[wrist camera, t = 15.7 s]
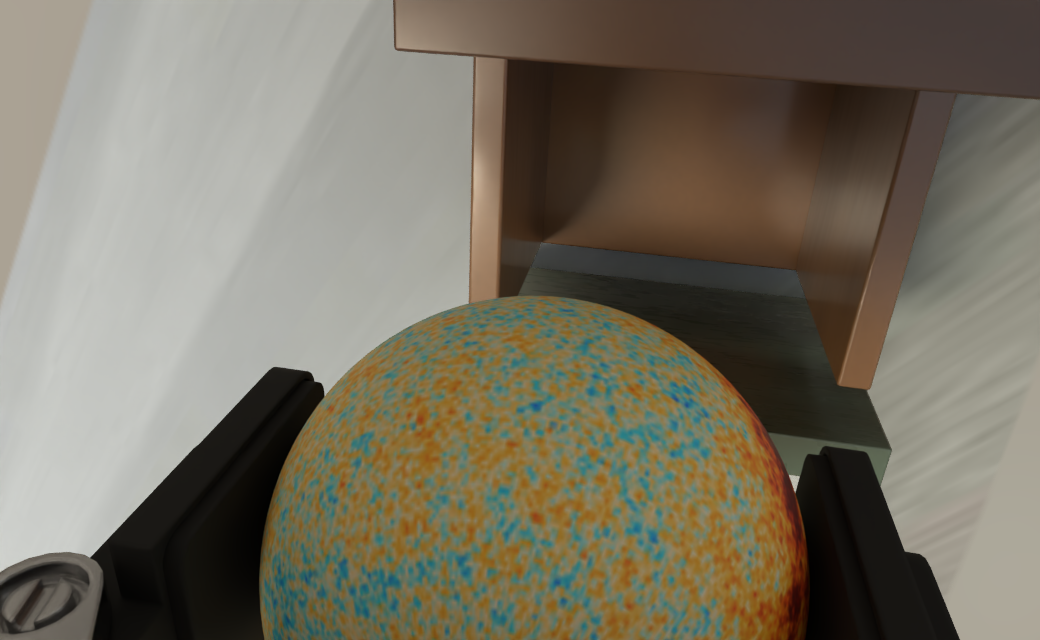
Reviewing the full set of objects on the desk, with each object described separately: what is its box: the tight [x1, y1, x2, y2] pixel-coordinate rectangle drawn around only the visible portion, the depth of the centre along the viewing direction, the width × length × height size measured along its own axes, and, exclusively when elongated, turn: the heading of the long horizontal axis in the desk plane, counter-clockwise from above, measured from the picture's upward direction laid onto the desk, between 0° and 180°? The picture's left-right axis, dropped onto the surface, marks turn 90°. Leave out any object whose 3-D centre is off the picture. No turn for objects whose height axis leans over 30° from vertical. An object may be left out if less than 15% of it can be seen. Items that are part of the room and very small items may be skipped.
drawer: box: [469, 57, 957, 486], centre depth 22 cm, size 20×12×9 cm, turn 177°
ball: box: [259, 296, 810, 640], centre depth 10 cm, size 7×7×7 cm
